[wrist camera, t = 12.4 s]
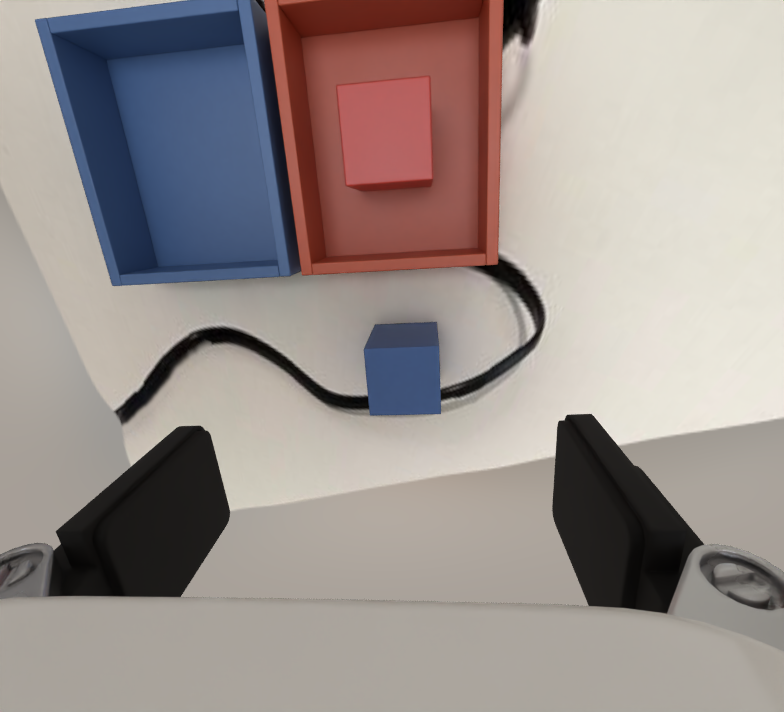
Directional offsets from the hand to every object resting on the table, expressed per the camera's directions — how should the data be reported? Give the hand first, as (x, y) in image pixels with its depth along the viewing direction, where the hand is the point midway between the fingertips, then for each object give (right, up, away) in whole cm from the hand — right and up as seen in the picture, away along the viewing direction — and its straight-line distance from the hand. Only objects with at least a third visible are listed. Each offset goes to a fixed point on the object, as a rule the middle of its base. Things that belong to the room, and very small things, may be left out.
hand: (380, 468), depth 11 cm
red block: (0, +14, +12) cm, 18 cm away
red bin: (0, +15, +12) cm, 19 cm away
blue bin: (-10, +14, +13) cm, 22 cm away
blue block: (+1, +3, +16) cm, 16 cm away
